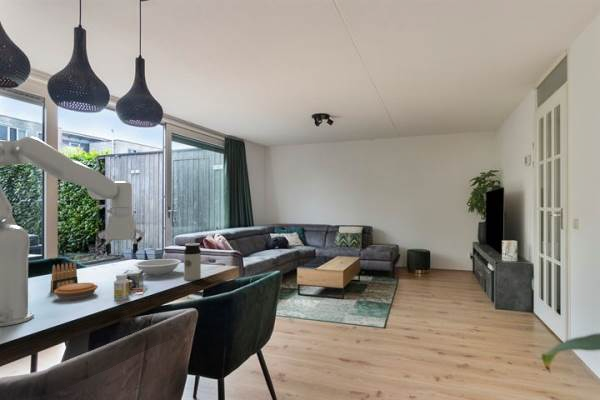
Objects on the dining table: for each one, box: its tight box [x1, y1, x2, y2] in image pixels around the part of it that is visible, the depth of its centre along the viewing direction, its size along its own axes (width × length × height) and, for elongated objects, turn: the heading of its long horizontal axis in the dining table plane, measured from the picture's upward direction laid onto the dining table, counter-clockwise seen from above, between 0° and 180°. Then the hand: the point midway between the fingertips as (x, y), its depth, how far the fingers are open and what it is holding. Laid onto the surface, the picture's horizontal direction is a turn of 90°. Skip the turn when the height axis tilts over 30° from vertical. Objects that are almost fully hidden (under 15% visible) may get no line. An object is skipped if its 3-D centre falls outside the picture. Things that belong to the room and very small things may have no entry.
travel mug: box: [183, 242, 202, 282], centre depth 175 cm, size 8×8×18 cm
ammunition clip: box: [50, 261, 79, 293], centre depth 154 cm, size 11×2×12 cm, turn 153°
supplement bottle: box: [113, 273, 130, 301], centre depth 139 cm, size 5×5×10 cm
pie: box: [53, 282, 99, 301], centre depth 142 cm, size 16×16×5 cm
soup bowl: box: [133, 258, 182, 276], centre depth 187 cm, size 24×24×7 cm
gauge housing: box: [122, 269, 148, 296], centre depth 154 cm, size 21×10×7 cm, turn 14°
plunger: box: [128, 279, 144, 292], centre depth 151 cm, size 10×8×4 cm
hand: (121, 253), depth 139 cm, fingers open, 9 cm apart
